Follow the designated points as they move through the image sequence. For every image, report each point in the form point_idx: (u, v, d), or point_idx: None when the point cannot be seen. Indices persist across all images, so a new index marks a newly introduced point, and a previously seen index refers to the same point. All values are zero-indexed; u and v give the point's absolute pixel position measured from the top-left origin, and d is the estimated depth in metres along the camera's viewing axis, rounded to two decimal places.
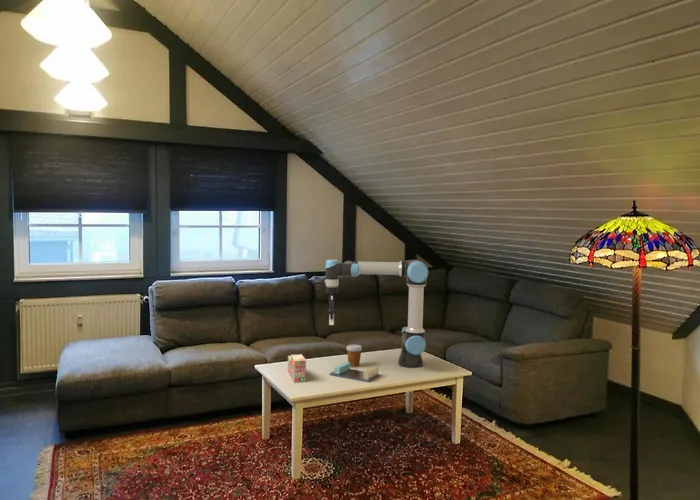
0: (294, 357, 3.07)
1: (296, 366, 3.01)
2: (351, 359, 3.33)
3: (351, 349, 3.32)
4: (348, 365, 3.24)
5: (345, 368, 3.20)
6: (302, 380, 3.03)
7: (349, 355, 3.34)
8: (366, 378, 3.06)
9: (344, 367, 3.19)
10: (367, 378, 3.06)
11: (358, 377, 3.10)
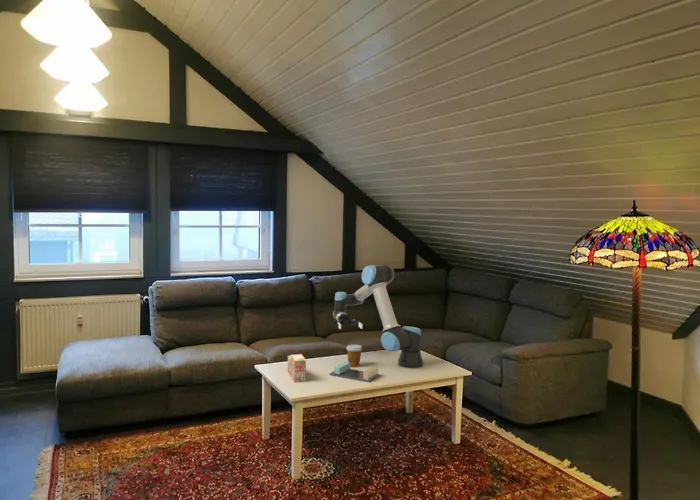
0: (294, 357, 3.08)
1: (296, 366, 3.02)
2: (351, 359, 3.33)
3: (351, 349, 3.32)
4: (348, 365, 3.24)
5: (345, 368, 3.20)
6: (302, 380, 3.03)
7: (349, 355, 3.34)
8: (366, 378, 3.06)
9: (344, 367, 3.19)
10: (367, 378, 3.06)
11: (358, 377, 3.10)
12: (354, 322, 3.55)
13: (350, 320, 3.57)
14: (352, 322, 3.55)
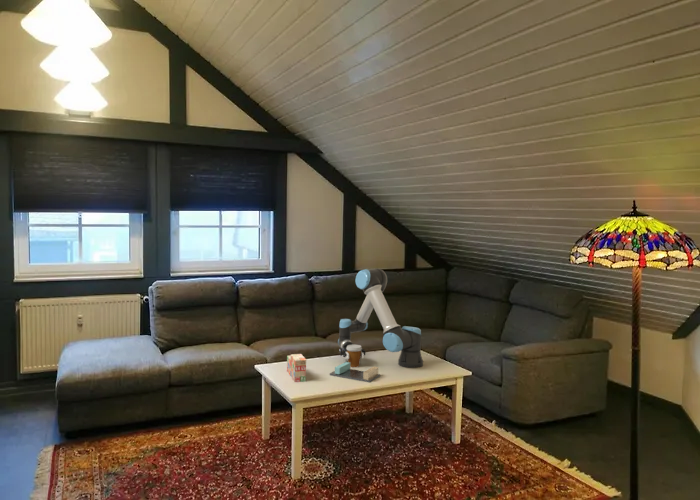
0: (294, 357, 3.08)
1: (296, 366, 3.02)
2: (351, 359, 3.33)
3: (351, 349, 3.32)
4: (348, 365, 3.24)
5: (345, 368, 3.20)
6: (302, 379, 3.04)
7: (349, 355, 3.34)
8: (366, 378, 3.06)
9: (344, 367, 3.19)
10: (367, 378, 3.06)
11: (358, 377, 3.10)
12: None
13: None
14: None
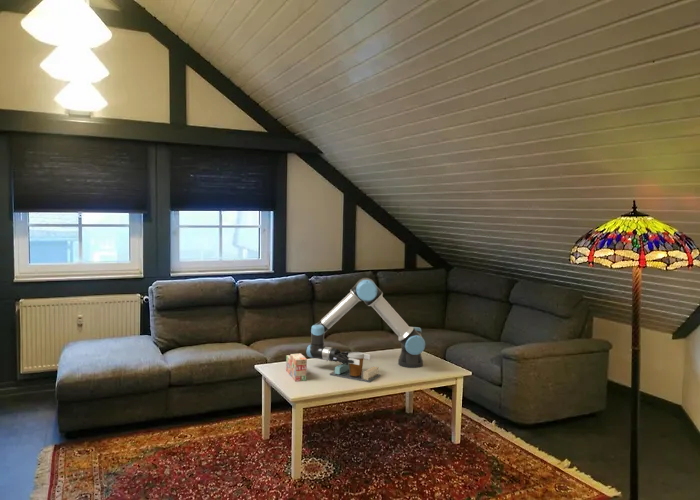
0: (294, 356, 3.09)
1: (297, 365, 3.03)
2: (358, 367, 3.11)
3: (359, 356, 3.10)
4: (348, 365, 3.24)
5: (345, 368, 3.20)
6: (303, 379, 3.05)
7: None
8: (366, 378, 3.06)
9: (344, 367, 3.19)
10: (367, 378, 3.06)
11: (358, 377, 3.10)
12: None
13: None
14: None
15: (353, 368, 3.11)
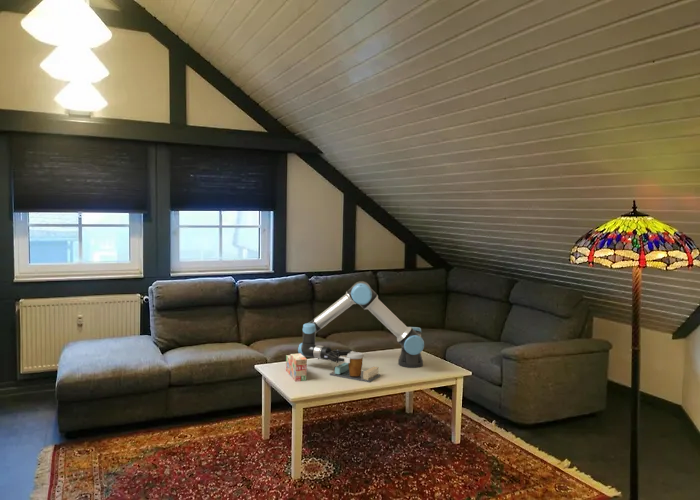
0: (294, 356, 3.09)
1: (297, 365, 3.03)
2: (357, 367, 3.11)
3: (358, 356, 3.10)
4: (348, 365, 3.24)
5: (345, 368, 3.20)
6: (303, 379, 3.05)
7: (355, 364, 3.10)
8: (366, 378, 3.06)
9: (344, 367, 3.19)
10: (367, 378, 3.06)
11: (358, 377, 3.10)
12: (343, 353, 3.25)
13: None
14: (341, 353, 3.24)
15: (352, 368, 3.11)
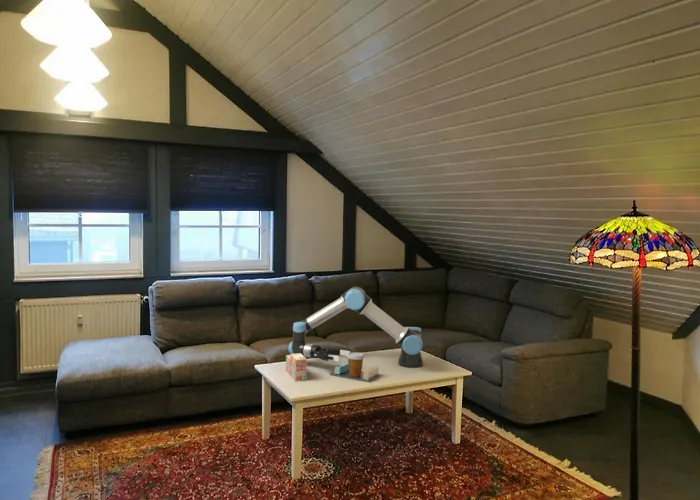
0: (294, 356, 3.09)
1: (297, 365, 3.04)
2: (357, 368, 3.10)
3: (358, 357, 3.09)
4: (348, 365, 3.24)
5: (345, 368, 3.20)
6: (303, 379, 3.05)
7: (355, 364, 3.10)
8: (366, 378, 3.06)
9: (344, 367, 3.19)
10: (367, 378, 3.06)
11: (358, 377, 3.10)
12: (333, 351, 3.28)
13: (326, 350, 3.28)
14: (330, 352, 3.28)
15: (352, 369, 3.11)
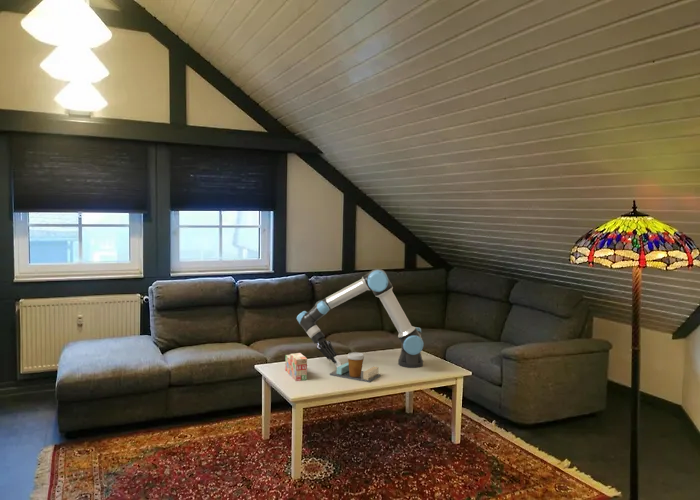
0: (294, 356, 3.10)
1: (297, 365, 3.04)
2: (357, 368, 3.10)
3: (359, 358, 3.09)
4: None
5: (347, 368, 3.20)
6: (303, 378, 3.06)
7: (355, 364, 3.10)
8: (366, 378, 3.06)
9: (346, 367, 3.19)
10: (367, 378, 3.06)
11: (358, 377, 3.10)
12: (329, 350, 3.25)
13: None
14: None
15: (352, 369, 3.11)
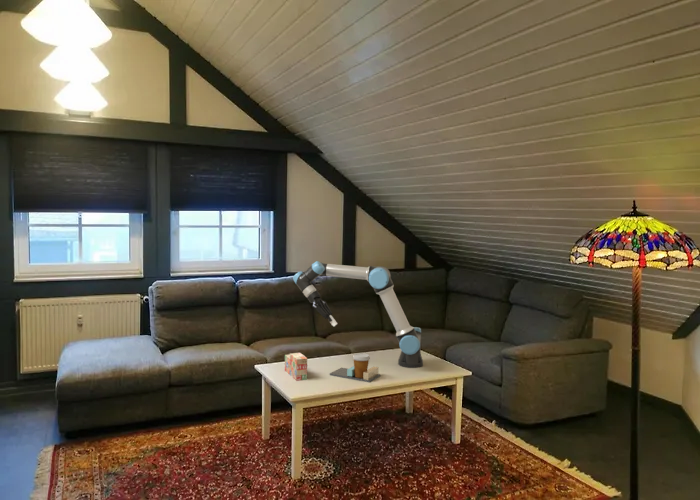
0: (294, 355, 3.10)
1: (298, 364, 3.05)
2: (363, 369, 3.09)
3: (364, 358, 3.08)
4: None
5: None
6: (303, 378, 3.07)
7: (361, 365, 3.08)
8: (366, 378, 3.06)
9: None
10: (367, 378, 3.06)
11: None
12: None
13: None
14: None
15: (358, 370, 3.09)
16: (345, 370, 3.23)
